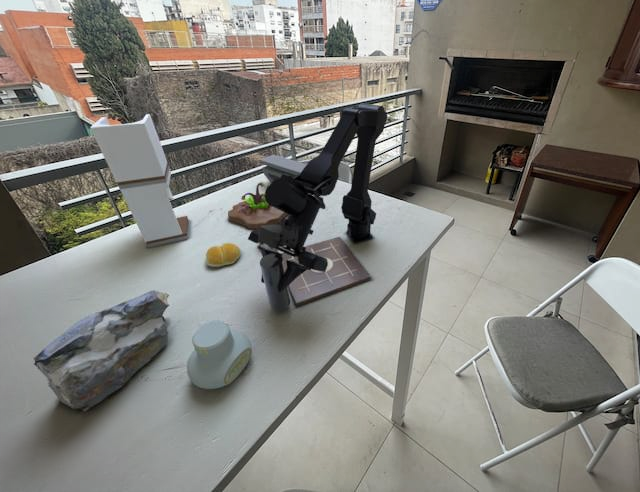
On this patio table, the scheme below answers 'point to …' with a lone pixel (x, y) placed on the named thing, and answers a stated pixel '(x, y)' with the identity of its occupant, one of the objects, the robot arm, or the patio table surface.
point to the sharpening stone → (280, 167)
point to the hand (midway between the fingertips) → (271, 287)
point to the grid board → (327, 272)
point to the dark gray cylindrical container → (274, 281)
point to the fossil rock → (104, 350)
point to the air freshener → (217, 355)
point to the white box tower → (142, 177)
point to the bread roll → (222, 255)
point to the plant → (255, 211)
